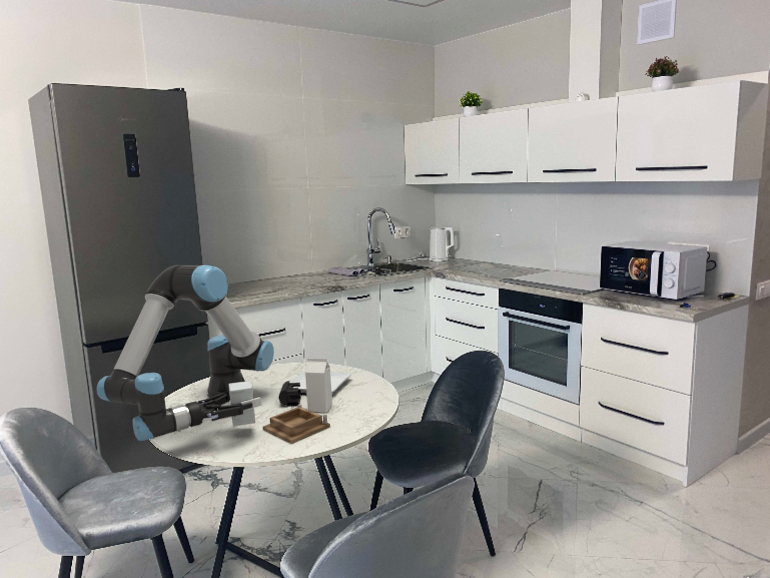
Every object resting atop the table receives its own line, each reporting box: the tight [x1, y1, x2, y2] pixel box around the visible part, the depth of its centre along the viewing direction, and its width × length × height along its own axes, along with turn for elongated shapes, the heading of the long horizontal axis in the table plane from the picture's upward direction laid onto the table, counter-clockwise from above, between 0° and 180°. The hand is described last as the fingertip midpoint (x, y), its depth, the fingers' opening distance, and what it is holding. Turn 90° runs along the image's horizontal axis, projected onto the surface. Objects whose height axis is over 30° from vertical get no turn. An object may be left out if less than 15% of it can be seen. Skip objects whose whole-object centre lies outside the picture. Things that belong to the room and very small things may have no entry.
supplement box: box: [229, 380, 256, 428], centre depth 192 cm, size 7×7×13 cm
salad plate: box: [290, 369, 352, 395], centre depth 233 cm, size 21×21×3 cm
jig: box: [262, 404, 331, 445], centre depth 195 cm, size 16×16×4 cm
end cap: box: [278, 380, 302, 408], centre depth 218 cm, size 10×7×7 cm
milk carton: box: [304, 357, 333, 413], centre depth 210 cm, size 7×7×19 cm
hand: (254, 397), depth 194 cm, fingers closed on supplement box, 9 cm apart
